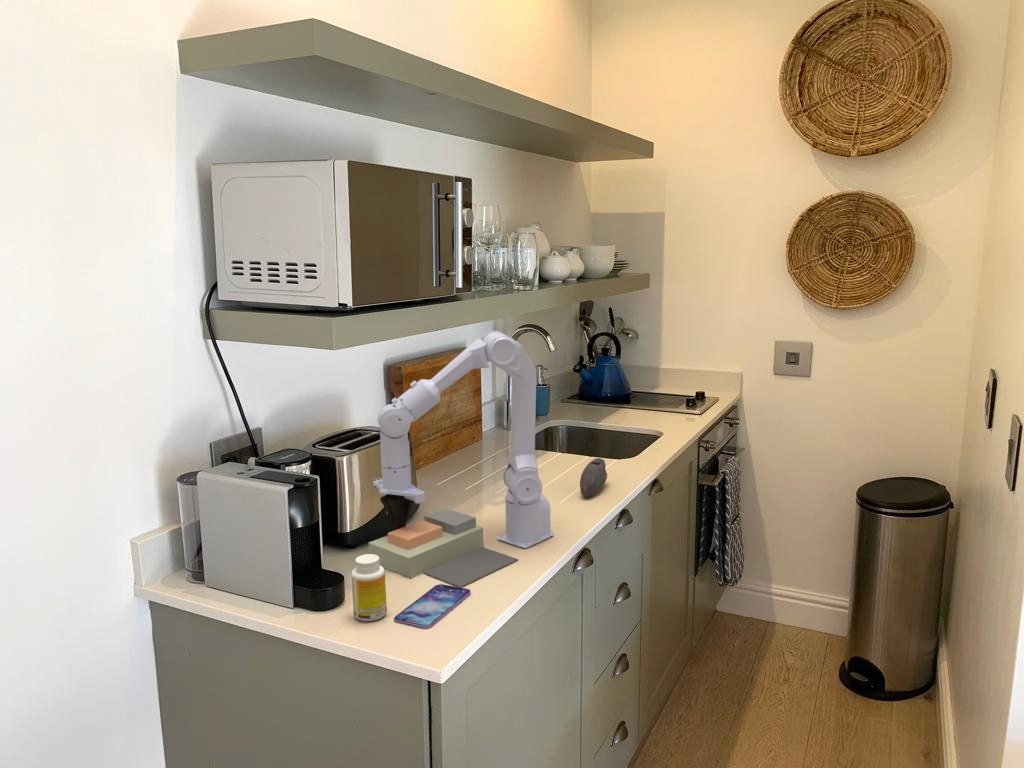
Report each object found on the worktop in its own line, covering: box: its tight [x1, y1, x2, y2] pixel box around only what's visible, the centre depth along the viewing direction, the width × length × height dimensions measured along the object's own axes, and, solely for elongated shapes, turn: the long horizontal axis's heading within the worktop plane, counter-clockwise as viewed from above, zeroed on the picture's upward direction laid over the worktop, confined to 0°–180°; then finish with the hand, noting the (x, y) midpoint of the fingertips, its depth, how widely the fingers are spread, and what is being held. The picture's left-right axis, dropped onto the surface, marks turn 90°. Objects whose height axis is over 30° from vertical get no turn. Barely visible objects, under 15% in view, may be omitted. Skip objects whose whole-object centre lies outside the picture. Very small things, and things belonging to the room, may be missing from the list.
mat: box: [423, 546, 519, 588], centre depth 154 cm, size 16×10×1 cm, turn 138°
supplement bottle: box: [351, 553, 388, 622], centre depth 134 cm, size 6×6×10 cm
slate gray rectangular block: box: [423, 507, 477, 535], centre depth 164 cm, size 9×6×2 cm, turn 48°
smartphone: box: [393, 583, 472, 630], centre depth 138 cm, size 7×1×15 cm
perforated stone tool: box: [579, 457, 608, 498], centre depth 196 cm, size 15×5×7 cm, turn 157°
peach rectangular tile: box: [387, 519, 443, 550], centre depth 157 cm, size 9×6×2 cm, turn 138°
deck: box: [368, 525, 484, 579], centre depth 160 cm, size 20×12×4 cm, turn 138°
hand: (399, 529), depth 161 cm, fingers closed
